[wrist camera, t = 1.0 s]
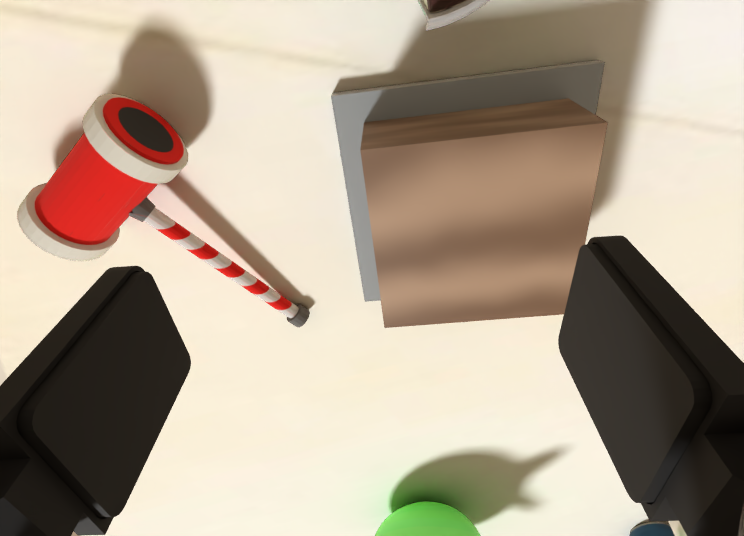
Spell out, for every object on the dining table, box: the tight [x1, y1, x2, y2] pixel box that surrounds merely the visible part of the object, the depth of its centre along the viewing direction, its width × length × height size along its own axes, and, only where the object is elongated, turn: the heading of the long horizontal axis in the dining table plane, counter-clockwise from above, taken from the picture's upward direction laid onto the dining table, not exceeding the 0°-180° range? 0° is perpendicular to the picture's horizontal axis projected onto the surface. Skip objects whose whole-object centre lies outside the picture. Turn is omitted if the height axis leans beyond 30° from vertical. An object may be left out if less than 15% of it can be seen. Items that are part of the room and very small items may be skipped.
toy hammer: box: [17, 94, 310, 327], centre depth 34 cm, size 23×12×6 cm, turn 42°
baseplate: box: [331, 60, 605, 301], centre depth 33 cm, size 18×18×1 cm
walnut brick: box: [360, 98, 608, 328], centre depth 31 cm, size 14×14×6 cm
